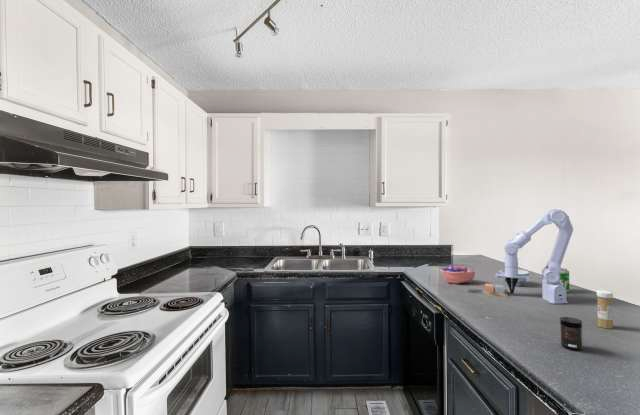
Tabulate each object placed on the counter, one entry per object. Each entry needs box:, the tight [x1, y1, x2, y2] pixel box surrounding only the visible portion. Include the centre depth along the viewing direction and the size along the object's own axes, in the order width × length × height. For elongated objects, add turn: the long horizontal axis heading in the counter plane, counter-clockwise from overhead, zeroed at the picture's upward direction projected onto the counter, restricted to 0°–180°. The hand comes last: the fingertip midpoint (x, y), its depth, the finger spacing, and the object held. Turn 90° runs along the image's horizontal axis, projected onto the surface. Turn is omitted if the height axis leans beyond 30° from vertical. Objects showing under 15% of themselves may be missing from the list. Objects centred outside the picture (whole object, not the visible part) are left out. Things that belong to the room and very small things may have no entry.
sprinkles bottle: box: [596, 289, 614, 330], centre depth 120 cm, size 5×5×13 cm
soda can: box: [559, 267, 571, 294], centre depth 167 cm, size 8×8×12 cm
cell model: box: [439, 264, 476, 285], centre depth 190 cm, size 17×20×11 cm
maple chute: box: [467, 287, 509, 298], centre depth 167 cm, size 20×14×2 cm
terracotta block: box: [484, 283, 495, 292], centre depth 166 cm, size 4×5×4 cm
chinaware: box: [498, 268, 530, 287], centre depth 184 cm, size 15×15×8 cm
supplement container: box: [559, 316, 584, 352], centre depth 104 cm, size 6×6×9 cm
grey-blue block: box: [494, 284, 505, 293], centre depth 164 cm, size 4×5×4 cm
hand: (512, 293), depth 161 cm, fingers closed
